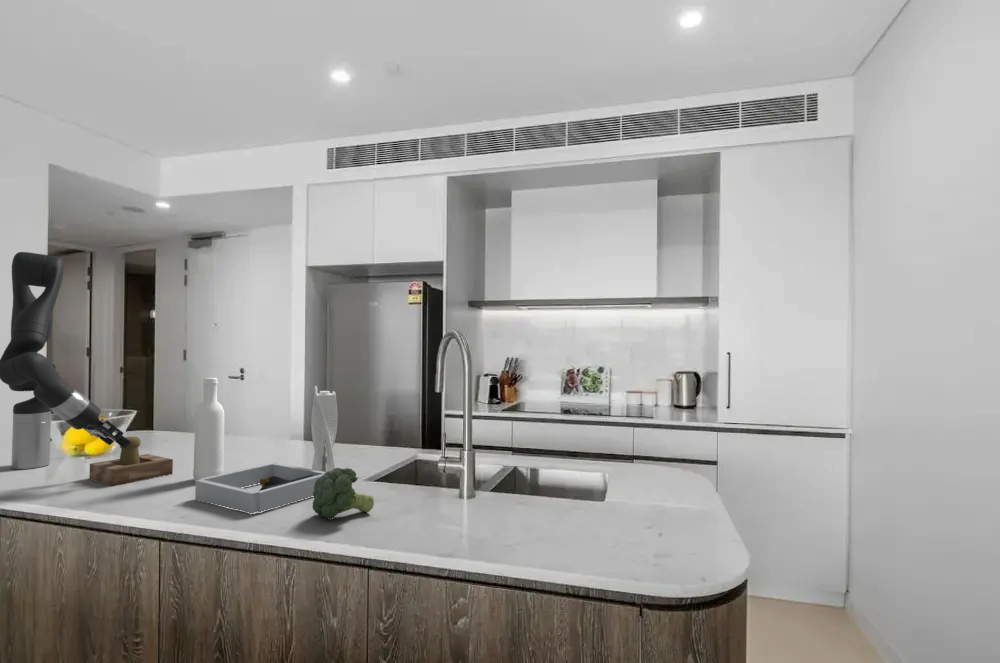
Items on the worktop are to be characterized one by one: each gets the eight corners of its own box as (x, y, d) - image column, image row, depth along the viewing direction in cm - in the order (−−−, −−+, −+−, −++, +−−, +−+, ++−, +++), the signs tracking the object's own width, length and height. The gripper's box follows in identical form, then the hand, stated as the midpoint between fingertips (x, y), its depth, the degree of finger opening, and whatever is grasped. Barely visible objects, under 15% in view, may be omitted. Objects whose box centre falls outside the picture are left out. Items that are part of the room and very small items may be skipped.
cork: (132, 477, 157) (133, 439, 157) (111, 476, 157) (112, 438, 157) (145, 471, 163) (147, 435, 163) (126, 471, 163) (127, 435, 163)
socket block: (89, 479, 158) (89, 463, 158) (147, 468, 172) (147, 454, 172) (114, 485, 151) (114, 469, 151) (172, 474, 165) (172, 459, 165)
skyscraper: (301, 482, 158) (303, 386, 158) (320, 475, 165) (322, 384, 166) (324, 485, 155) (326, 387, 155) (343, 478, 162) (344, 385, 163)
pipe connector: (241, 481, 139) (289, 469, 152) (241, 501, 139) (289, 488, 152) (271, 488, 133) (318, 475, 147) (270, 510, 133) (318, 495, 146)
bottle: (227, 479, 160) (229, 378, 160) (198, 484, 154) (201, 379, 154) (217, 474, 165) (219, 376, 166) (189, 479, 159) (191, 377, 160)
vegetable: (383, 512, 124) (324, 491, 118) (354, 542, 129) (295, 523, 122) (385, 471, 134) (330, 450, 127) (357, 500, 139) (303, 481, 132)
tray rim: (193, 499, 139) (193, 480, 139) (273, 479, 160) (273, 462, 161) (254, 515, 127) (254, 494, 128) (331, 491, 149) (332, 473, 149)
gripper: (99, 400, 148) (143, 436, 158) (74, 396, 155) (117, 431, 164) (76, 422, 143) (122, 457, 153) (51, 417, 150) (96, 451, 160)
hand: (119, 443), depth 159 cm, fingers open, 8 cm apart
